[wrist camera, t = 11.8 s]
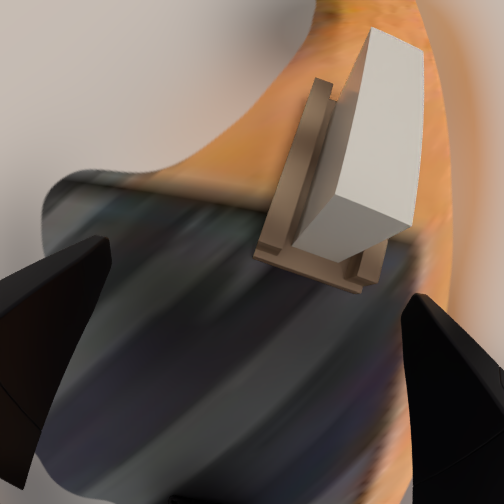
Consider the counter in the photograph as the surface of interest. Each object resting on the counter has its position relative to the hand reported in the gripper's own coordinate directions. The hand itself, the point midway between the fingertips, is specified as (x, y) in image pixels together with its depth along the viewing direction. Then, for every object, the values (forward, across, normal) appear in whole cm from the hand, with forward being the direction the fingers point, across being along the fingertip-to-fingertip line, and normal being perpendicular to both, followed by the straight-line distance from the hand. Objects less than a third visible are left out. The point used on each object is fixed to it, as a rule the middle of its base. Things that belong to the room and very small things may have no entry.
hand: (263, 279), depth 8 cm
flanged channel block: (+16, -5, +3) cm, 17 cm away
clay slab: (+16, -5, +2) cm, 16 cm away
